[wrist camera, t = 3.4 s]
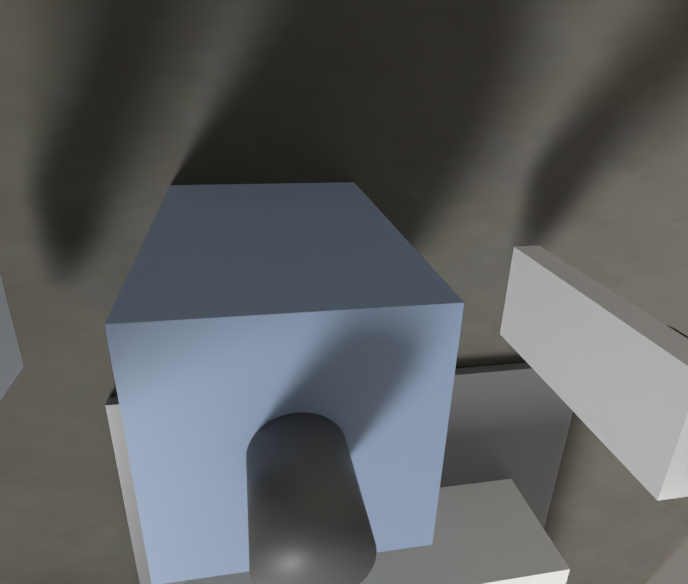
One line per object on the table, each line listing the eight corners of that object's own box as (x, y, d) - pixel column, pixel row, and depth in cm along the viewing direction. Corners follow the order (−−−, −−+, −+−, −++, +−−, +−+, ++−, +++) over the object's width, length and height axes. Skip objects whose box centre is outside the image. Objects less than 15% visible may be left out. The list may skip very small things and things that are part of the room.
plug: (170, 185, 14) (59, 419, 5) (354, 182, 15) (532, 377, 6) (188, 348, 16) (131, 717, 7) (348, 337, 17) (476, 653, 8)
